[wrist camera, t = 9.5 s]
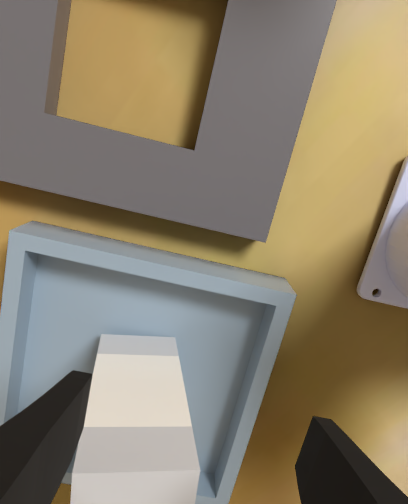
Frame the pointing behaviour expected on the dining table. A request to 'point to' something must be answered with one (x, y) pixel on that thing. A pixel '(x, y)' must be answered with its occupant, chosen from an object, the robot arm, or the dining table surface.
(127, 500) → the block
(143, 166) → the block
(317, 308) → the dining table surface
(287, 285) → the parts tray
